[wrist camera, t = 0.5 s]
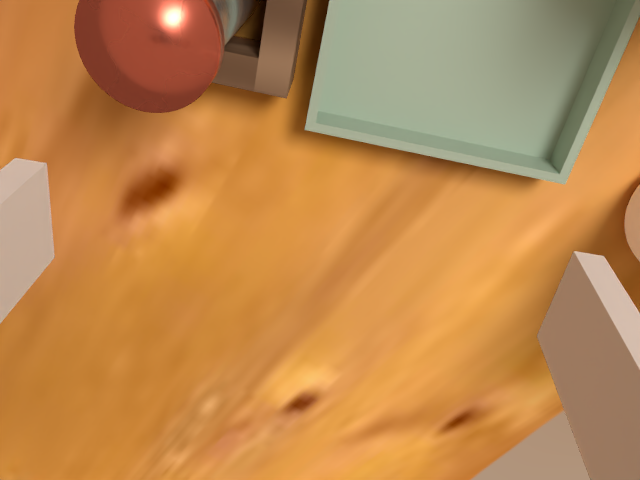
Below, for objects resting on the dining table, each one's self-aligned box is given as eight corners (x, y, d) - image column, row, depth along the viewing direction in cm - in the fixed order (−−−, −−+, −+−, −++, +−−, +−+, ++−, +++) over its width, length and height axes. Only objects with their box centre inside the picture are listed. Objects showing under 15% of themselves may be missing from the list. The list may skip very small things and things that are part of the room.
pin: (186, -77, 36) (73, -52, 22) (279, -56, 36) (226, -19, 22) (178, 20, 39) (75, 97, 25) (265, 39, 39) (210, 125, 25)
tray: (354, -126, 34) (353, -126, 32) (647, -58, 35) (670, -54, 33) (308, 114, 42) (304, 129, 39) (552, 166, 42) (565, 184, 40)
